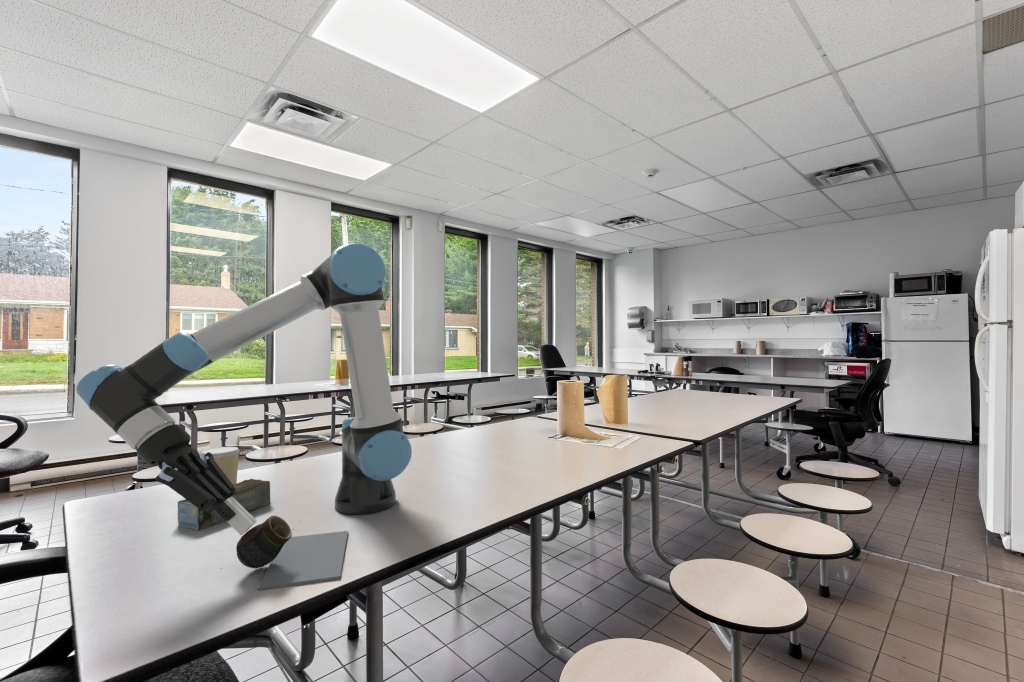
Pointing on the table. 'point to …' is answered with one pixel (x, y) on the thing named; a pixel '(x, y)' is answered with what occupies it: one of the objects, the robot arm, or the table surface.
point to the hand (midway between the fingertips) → (249, 527)
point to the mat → (307, 560)
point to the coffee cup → (226, 460)
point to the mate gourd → (263, 542)
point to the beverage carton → (247, 495)
